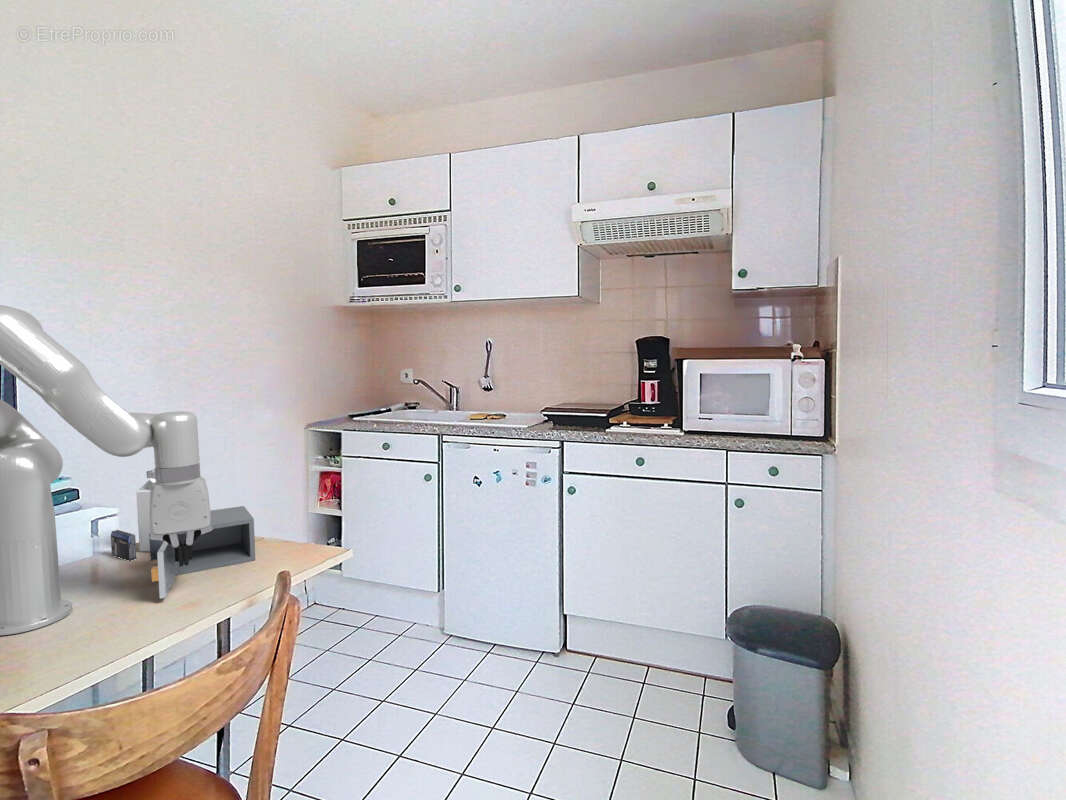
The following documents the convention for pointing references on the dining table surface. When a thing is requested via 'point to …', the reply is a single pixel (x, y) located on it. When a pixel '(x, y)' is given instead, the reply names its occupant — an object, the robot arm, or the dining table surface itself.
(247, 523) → the grey cabinet
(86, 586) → the dining table surface
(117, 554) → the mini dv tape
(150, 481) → the milk carton
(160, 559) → the door
